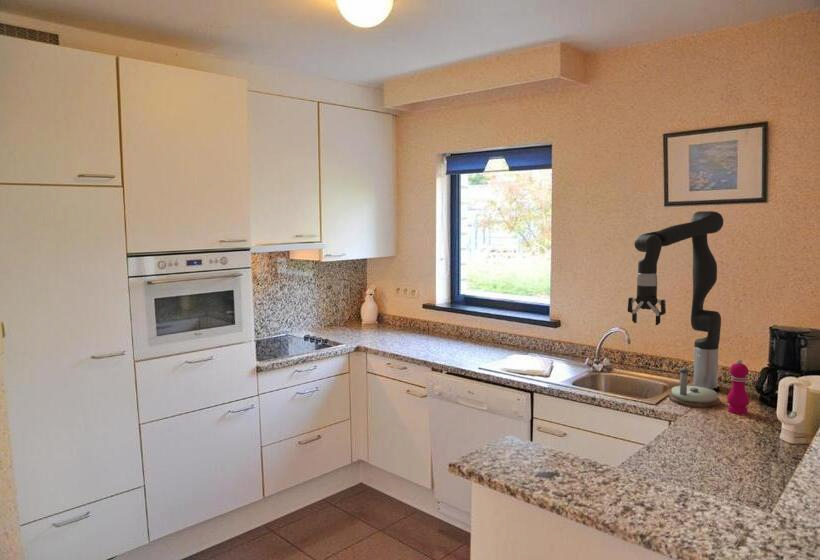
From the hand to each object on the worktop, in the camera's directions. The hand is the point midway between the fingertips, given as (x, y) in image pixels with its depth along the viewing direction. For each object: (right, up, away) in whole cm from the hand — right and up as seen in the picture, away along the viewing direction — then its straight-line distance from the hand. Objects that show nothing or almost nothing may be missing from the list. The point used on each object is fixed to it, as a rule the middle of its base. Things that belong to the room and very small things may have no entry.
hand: (646, 323), depth 237 cm
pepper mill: (+27, -32, -18) cm, 46 cm away
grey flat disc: (+17, -30, -4) cm, 35 cm away
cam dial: (+17, -29, -4) cm, 34 cm away
